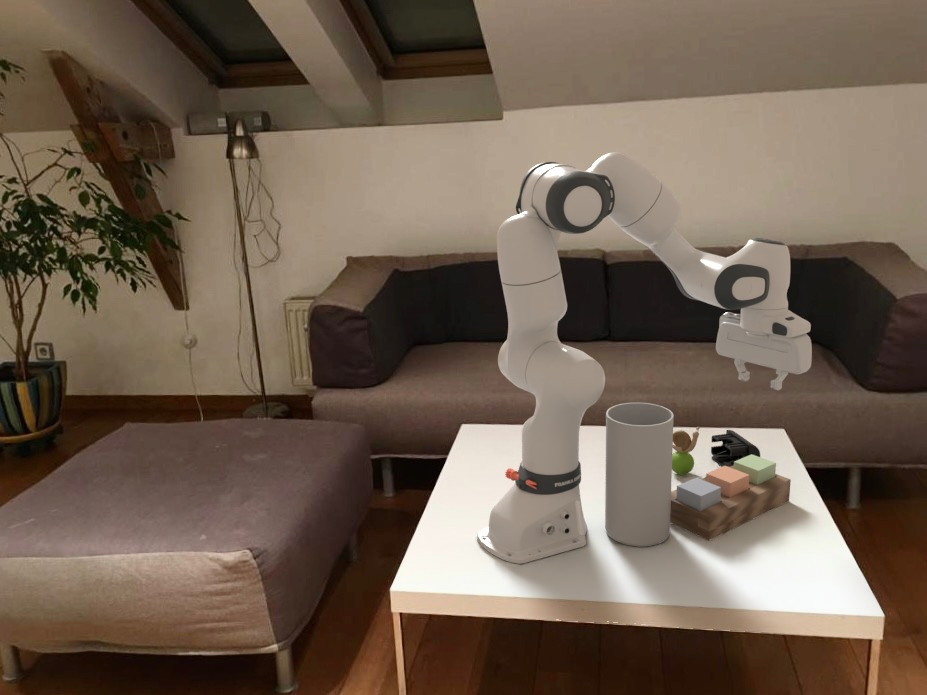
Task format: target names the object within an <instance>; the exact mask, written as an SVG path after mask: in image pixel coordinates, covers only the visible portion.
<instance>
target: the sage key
mask: <svg viewBox="0 0 927 695" xmlns="http://www.w3.org/2000/svg"><path fill="white" fill-rule="evenodd" d="M776 467H777V463H776V462H774V461H771V460H769V459H765V458H763V457H761V456H760V457H758V456H755V455H752V454H751V455H749V456H746V457H744V458H742V459H739V460H737V461H735V462H734V469H735V470H738V471H741V472H743V473H746V474H749V482H751V483H754V484H757V485H759V484H761V483H763V482H766V481H768V480H770V479H772V478H774V477H775V474H776V473H777V472H776V470H777V469H776Z"/></svg>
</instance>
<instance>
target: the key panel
mask: <svg viewBox="0 0 927 695" xmlns="http://www.w3.org/2000/svg"><path fill="white" fill-rule="evenodd" d="M730 468H733V469H734V465H733V466H730ZM701 479H702V480H704V481H706V476H705V477H703V478H701ZM791 482H792V479H791V478H787V477H785V476H782V475H779V474H777V473H775V477H774V478H772V479H770V480H768V481H766V482H763V483H761V484H759V485H757V484H754V483H751V482H749V489H748V490H746V491H744V492H742V493H740V494H737V495H735V496H733V497H731V498H730V497H727V496H725V495H722V494H721V498H720V503H718V504H716V505H713V506H711V507H709V508H707V509H705V510H702V511H699V510H697V509H695V508H692V507H690V506H688V505H686V504H683V503H681V502H679V501H677V500H676V496H677V488H676V489H674V490H671V510H670V524H672V525H675V526H677V527H679V528H680V529H683V530H684V531H687V532H689V533H691V534H693V535H696V536H697V537H700V538H701V539H704V540H706V541H708V542H709V541H712V540H714V539H715V538H717V537H720V536H721V535H724V534H726V533H727V532H730V531H732V530H733V529H736V528H738V527H740V526H742V525H743V524H744V525H745V523H747V522H750V521H751V520H755V519H756V518H758V517H760V516H762V515H764V514H766V513H768V512H771V511H772V510H774V509H776V508H778V507H780V506H782V505H785V504H786V503H788V502H789V501H790V494H791Z"/></svg>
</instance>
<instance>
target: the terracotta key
mask: <svg viewBox="0 0 927 695" xmlns="http://www.w3.org/2000/svg"><path fill="white" fill-rule="evenodd" d="M705 477H706V482H709V483H711V484H714V485H716V486H719V487H721V494H722V495H725V496H727V497H730V498H731V497H733V496H735V495H737V494H740V493H742V492H744V491H746V490H748V489H749V474H746V473H743V472H741V471H738V470H735V469H733V468H730V467H727V466H723V467H721V466H719V467H717V468H716V469H714V470H711V471H708V472H707V473H706V474H705Z"/></svg>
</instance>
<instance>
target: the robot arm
mask: <svg viewBox="0 0 927 695" xmlns="http://www.w3.org/2000/svg"><path fill="white" fill-rule="evenodd" d="M515 211H516V214H515V215H513V216H510V217H509V218H507V219H506V220H504V221H503V222H502V223H501V224H500V226H499V228H498V229H497V233H496V235H497V236H496V250H497V252H496V253H497V264H498V271H499V275H500V276H499V277H500V281H501V286H502V291H503V297H504V302H505V306H506V307H505V308H506V312H507V321H508V322H507V323H508V325H507V326H508V328H507V338H506V340H505V341H504V343H503V344H502V345H501V347H500V349H499V350H498V351H499V352H498V356H497V364H498V368H499V371H500V372H501V374H502V375H503V376H504V377H505V378H506V379H507V380H508V381H509V382H510V383H512V385H514V386H516V387H517V388H518V389H521V390H523V391H526V392H528V393H529V394H532V395H534V397H535V409H534V413H533V415H532V416H530V417H529V418H528V419H527V420H526V421H525V422H523V425H522V427H521V458H522V459H521V462H520V463H519V466H518V470H514V469H513V468H511V467H509V468H507V469H506V471H505V478H507V479H510V480H511V481H512V482H513V481H515V483H514V484H513V485H512V486H511V488H509V490H508V491H507V492H506V493H505V494H504V496H502V498H501V499H500V500H498V502H497V503H496V504H495V505H494V506H493V507H492V509H491V510H490V513H489V519H488V526H485V527H484V528H482V529H481V530H479V531H478V532H477V536H476V538H477V541H478V543H479V545H481V547H482V548H483V549H485V550H486V551H487V552H489V553H490V554H492V555H494V556H495V557H497V558H498V559H501V560H503V561H507V562H510V563H513V564H519V565H521V564H525V563H526V564H527V563H529V562H534V561H537V560H540V559H544V558H547V557H551V556H554V555H557V554H561V553H565V552H569V551H572V550H575V549H578V548H583V547H584V546H586V545H587V540H586V535H587V532H588V525H587V523H586V520H585V517H584V511H583V505H582V501H581V500H582V499H581V491H580V490H581V488H580V484H581V482H582V466H581V465H582V464H581V462H580V458H579V457H580V454H579V452H580V450H579V449H580V448H579V446H580V428H581V424H582V421H583V417H584V415H585V413H586V411H587V409H589V408H590V407H592V406H594V404H595V403H596V402H597V401H598V400H599V399H600V397H602V393H603V392H604V389H605V384H606V376H605V371H604V368H603V366H602V365H601V364H600V363H599V362H598V361H597V360H596V359H594V358H593V357H592V356H590V355H589V354H587V353H586V352H584V351H583V350H581V349H577V348H575V347H572V346H570V345H566V344H564V343H562V342H561V341H560V339H559V336H558V324H559V321H561V319H563V317H564V316H565V315H566V312H567V311H568V301H567V296H566V290H565V284H564V280H563V273H562V269H561V263H560V257H559V255H558V252H559V251H558V250H559V249H558V247H559V239H560V236H561V233H564V234H571V235H578V234H585V233H587V232H590V231H592V230H593V229H594V228H596V227H597V226H598V225H599V224H600V223H602V222H603V220H604V219H605V218H606V217H607V218H608V219H610V221H611V222H613V224H615V225H616V226H617V227H618V228H619V229H620V230H622V231H623V232H624V233H625V234H627V235H628V236H629V237H631V238H632V239H634V240H635V241H637V242H639V243H640V244H642V245H644V246H645V247H646V248H647V249H648V250H649V251H651V253H652V254H653V255H655V257H656V258H657V259H659V261H661V263H662V264H663V265H664V266H666V268H667V269H668V270H669V271H670V273H671V275H672V277H673V279H674V282H675V283H676V287H677V288H678V290H679V291H680V293H681V294H682V295H683V296H685V297H686V298H689V299H691V300H693V301H698V302H699V301H700V302H703V303H706V304H709V305H712V306H715V307H718V308H720V309H724V310H729V311H727V312H725V313H722V315H721V316H720V317H719V322H718V323H719V325H718V326H719V328H718V331H717V336H716V343H715V350H716V352H717V354H718V355H719V356H722V357H726V358H729V359H734V360H733V361H734V362H733V364H734V365H735V368H736V370H737V373H738V377H737V378H738V380H739V381H741V382H748V381H749V380H750V376H751V371H748V370H747V368H746V365H745V363H750V364H753V365H754V364H755V365H759V366H762V367H765V368H770V369H774V370H775V374H776V375H777V376H776V378H774V379H771V380H770V386H769V387H770V389H771V390H775V391H780V390H781V389H782V388H783V381H784V380H785V379H786V377H787V376H788V375H789V373H790V374H793V375H801V374H804V373H807V372H808V371H809V370H810V369H811V367H812V358H813V354H812V353H813V348H812V347H813V346H812V339H811V337H810V336H809V335H808V334H807V333H810V332H811V327H812V324H811V322H809V321H808V320H807V319H804V318H802V317H801V316H799V315H798V314H796V313H794V312H792V311H791V310H790V309H789V301H788V296H787V295H788V294H787V293H788V289H789V287H790V283H791V255H790V249H789V247H788V246H787V245H786V244H785V243H784V242H782V241H778V240H774V239H768V238H759V237H753V238H750V239H749V240H748V241H747V242H746V244H745V245H744V246H743V247H742V248H740V250H738V251H736V252H735V253H734V254H731V255H729V256H727V257H725V256H721V255H718V254H715V253H711V252H708V251H706V250H703V249H697V248H695V247H694V246H693V245H692V244H691V243H689V241H688V240H687V239H685V237H684V236H683V235H682V234H681V233H680V232H679V231H678V230H677V229H676V228H677V226H678V224H679V221H680V219H681V218H680V217H681V212H682V209H681V204H680V201H678V198H677V197H676V195H674V193H673V192H672V191H671V189H670V188H669V187H668V186H667V185H666V184H665V183H663V181H661V179H660V178H658V177H657V176H656V175H655V174H653V173H652V172H651V171H650V170H649V169H647V167H645V166H644V165H642V164H641V163H639V162H638V161H636V160H634V159H633V158H631V157H630V156H628V155H626V154H625V153H622V152H618V151H613V152H612V151H611V152H608V153H605V154H604V155H602V156H601V157H599V158H598V159H597V160H595V161H594V163H593V164H592V165H591V167H589V168H588V169H587V170H582V169H580V168H576V167H575V166H572V165H569V164H564V163H559V162H556V161H555V162H554V161H546V162H542V163H539V164H536V165H535V166H533V167H531V168H530V169H529V170H528V171H527V172H526V173H525V175H524V177H523V178H522V181H521V184H520V188H519V195H518V199H517V201H516V205H515ZM736 310H740V313H734V312H730V311H736Z"/></svg>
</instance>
